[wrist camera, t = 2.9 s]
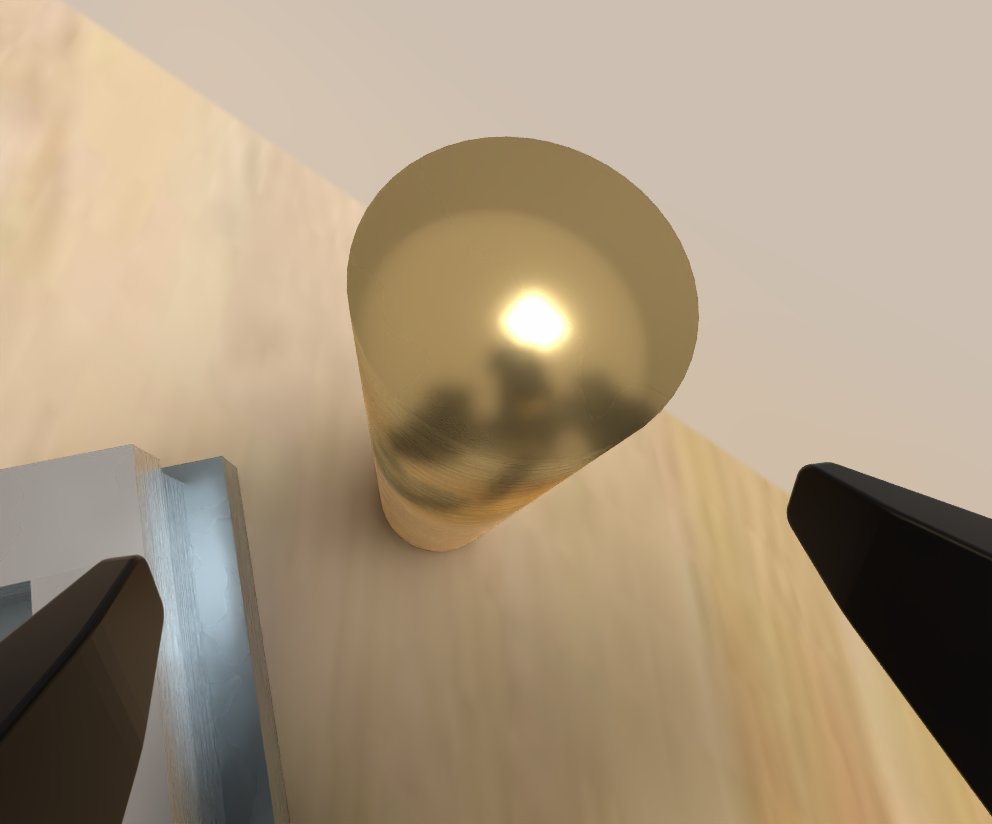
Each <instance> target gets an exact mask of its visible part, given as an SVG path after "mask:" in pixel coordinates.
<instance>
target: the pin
mask: <svg viewBox="0 0 992 824" xmlns="http://www.w3.org/2000/svg"><path fill="white" fill-rule="evenodd" d="M347 294H348V302H349V309H350V316H351V322H352V328H353V334H354V340H355V346H356V352H357V358H358V364H359V370H360V376H361V382H362V389H363V395H364V401H365V407H366V413H367V419H368V425H369V431H370V437H371V443H372V449H373V455H374V461H375V467H376V473H377V480H378V486H379V492H380V498H381V504H382V508H383V511H384V514H385V517H386V519H387V521H388V522H389V524H390V526H391V527H392V528H393V530H394V531H395V532H396V533H397V534H398V535H399V536H400V537H401V538H402V539H404V540H405V541H406V542H408V543H409V544H411V545H413V546H415V547H418V548H421V549H424V550H428V551H437V552H440V551H450V550H455V549H458V548H461V547H463V546H465V545H467V544H469V543H470V542H472V541H473V540H475V539H476V538H478V537H479V536H481V535H482V534H484V533H485V532H487V531H488V530H490V529H491V528H493V527H494V526H496V525H497V524H499V523H500V522H502V521H503V520H505V519H506V518H508V517H509V516H511V515H512V514H514V513H515V512H517V511H518V510H520V509H521V508H523V507H524V506H526V505H527V504H529V503H530V502H532V501H533V500H535V499H536V498H538V497H539V496H541V495H542V494H544V493H545V492H547V491H548V490H550V489H551V488H553V487H554V486H556V485H557V484H559V483H560V482H562V481H563V480H565V479H566V478H568V477H569V476H571V475H572V474H574V473H575V472H577V471H578V470H580V469H581V468H583V467H584V466H586V465H587V464H589V463H590V462H592V461H593V460H595V459H596V458H597V457H599V456H600V455H602V454H603V453H605V452H606V451H608V450H609V449H611V448H612V447H614V446H615V445H617V444H618V443H620V442H621V441H623V440H624V439H626V438H627V437H629V436H630V435H632V434H633V433H635V432H636V431H638V430H639V429H641V428H642V427H644V426H645V425H646V424H647V423H648V422H649V421H651V420H652V419H653V418H654V417H655V416H656V415H657V414H658V413H659V412H660V411H661V410H662V409H663V408H664V406H665V405H666V404H667V403H668V402H669V400H670V399H671V398H672V397H673V396H674V394H675V392H676V391H677V389H678V387H679V386H680V384H681V382H682V381H683V379H684V377H685V374H686V372H687V370H688V367H689V365H690V362H691V360H692V356H693V352H694V348H695V344H696V340H697V332H698V321H699V314H698V297H697V291H696V286H695V280H694V276H693V273H692V270H691V267H690V263H689V260H688V258H687V255H686V253H685V251H684V249H683V247H682V244H681V242H680V240H679V239H678V237H677V235H676V233H675V232H674V230H673V229H672V227H671V225H670V224H669V222H668V221H667V219H666V218H665V217H664V216H663V214H662V213H661V212H660V210H659V209H658V208H657V207H656V205H655V204H654V203H652V201H651V200H650V199H649V198H648V197H647V196H646V195H645V194H644V193H643V192H642V191H641V190H640V189H639V188H637V187H636V186H635V185H634V184H633V183H631V182H630V181H629V180H628V179H627V178H625V177H624V176H622V175H621V174H619V173H618V172H617V171H615V170H613V169H612V168H611V167H609V166H607V165H606V164H604V163H602V162H600V161H598V160H596V159H594V158H592V157H591V156H589V155H586V154H584V153H581V152H579V151H576V150H574V149H571V148H569V147H565V146H562V145H558V144H554V143H551V142H547V141H541V140H536V139H530V138H518V137H488V138H480V139H475V140H468V141H464V142H460V143H456V144H453V145H449V146H446V147H443V148H441V149H439V150H436V151H434V152H431V153H429V154H427V155H425V156H423V157H422V158H420V159H418V160H416V161H415V162H413V163H411V164H410V165H408V166H407V167H406V168H404V169H403V170H402V171H401V172H399V173H398V174H397V175H395V176H394V177H393V178H392V179H391V180H390V181H389V182H388V183H387V184H386V185H385V186H384V187H383V188H382V189H381V190H380V191H379V193H378V194H377V195H376V197H375V198H374V200H373V201H372V202H371V204H370V205H369V207H368V208H367V210H366V212H365V214H364V216H363V217H362V219H361V221H360V223H359V225H358V227H357V230H356V233H355V236H354V239H353V242H352V246H351V249H350V256H349V262H348V268H347Z"/></svg>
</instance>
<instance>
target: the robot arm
mask: <svg viewBox="0 0 992 824" xmlns="http://www.w3.org/2000/svg"><path fill="white" fill-rule="evenodd" d="M787 519H788V522H789V524H790V526H791V528H792V530H793V531H794V533H795V535H796V536H797V538H798V540H799V541H800V543H801V545H802V546H803V548H804V550H805V551H806V553H807V555H808V556H809V558H810V560H811V561H812V563H813V565H814V566H815V568H816V570H817V571H818V573H819V575H820V576H821V578H822V580H823V581H824V583H825V585H826V586H827V588H828V590H829V591H830V593H831V595H832V596H833V598H834V600H835V601H836V603H837V604H838V606H839V607H840V609H841V611H842V612H843V614H844V615H845V616H846V618H847V619H848V621H849V622H850V624H851V625H852V626H853V628H854V629H855V631H856V632H857V633H858V635H859V636H860V637H861V639H862V640H863V642H864V643H865V644H866V646H867V647H868V648H869V650H870V651H871V652H872V654H873V655H874V657H875V658H876V659H877V661H878V662H879V663H880V665H881V666H882V667H883V669H884V670H885V672H886V673H887V674H888V676H889V677H890V678H891V680H892V681H893V682H894V684H895V685H896V687H897V688H898V689H899V691H900V692H901V693H902V695H903V696H904V698H905V699H906V700H907V702H908V703H909V704H910V706H911V707H912V708H913V710H914V711H915V713H916V714H917V715H918V717H919V718H920V719H921V721H922V722H923V723H924V725H925V726H926V728H927V729H928V730H929V732H930V733H931V734H932V736H933V737H934V738H935V740H936V741H937V743H938V744H939V745H940V747H941V748H942V749H943V751H944V752H945V753H946V755H947V756H948V758H949V759H950V760H951V762H952V763H953V764H954V766H955V767H956V768H957V770H958V771H959V773H960V774H961V775H962V777H963V778H964V779H965V781H966V782H967V784H968V785H969V786H970V788H971V789H972V790H973V792H974V793H975V794H976V796H977V797H978V799H979V800H980V801H981V803H982V804H983V805H984V807H985V808H986V809H987V811H988V812H989V814H990V815H991V816H992V519H991V518H987V517H985V516H982V515H979V514H976V513H974V512H971V511H968V510H965V509H962V508H959V507H957V506H954V505H951V504H948V503H945V502H942V501H940V500H937V499H934V498H931V497H928V496H926V495H923V494H920V493H917V492H914V491H911V490H908V489H906V488H903V487H900V486H897V485H894V484H891V483H889V482H886V481H883V480H880V479H877V478H875V477H872V476H869V475H866V474H863V473H860V472H858V471H855V470H852V469H849V468H846V467H844V466H841V465H838V464H835V463H831V462H824V463H817V464H809V465H806V466H804V467H802V468H801V469H800V471H799V472H798V474H797V478H796V481H795V484H794V487H793V490H792V493H791V497H790V500H789V503H788V506H787ZM163 623H164V608H163V603H162V600H161V597H160V594H159V592H158V589H157V586H156V584H155V581H154V578H153V576H152V573H151V570H150V568H149V565H148V563H147V561H146V560H145V558H144V557H142V556H140V555H128V556H121V557H113V558H107V559H104V560H102V561H100V562H99V563H97V564H96V565H95V566H93V567H92V568H91V569H90V570H88V571H87V572H86V573H85V574H83V575H82V576H81V577H80V578H78V579H77V580H76V581H75V582H73V583H72V584H71V585H70V586H68V587H67V588H66V589H65V590H63V591H62V592H61V593H60V594H59V595H57V596H56V597H55V598H54V599H52V600H51V601H50V602H49V603H47V604H46V605H45V606H44V607H42V608H41V609H40V610H39V611H37V612H36V613H35V614H34V615H32V616H31V617H30V618H29V619H27V620H26V621H25V622H24V623H22V624H21V625H20V626H19V627H17V628H16V629H15V630H14V631H12V632H11V633H10V634H9V635H7V636H6V637H5V638H4V639H3V640H1V641H0V824H122V822H123V818H124V815H125V811H126V808H127V804H128V801H129V797H130V793H131V790H132V786H133V783H134V779H135V776H136V772H137V769H138V765H139V761H140V757H141V753H142V749H143V744H144V739H145V734H146V728H147V722H148V716H149V710H150V704H151V698H152V692H153V685H154V679H155V673H156V667H157V661H158V654H159V648H160V642H161V636H162V630H163Z"/></svg>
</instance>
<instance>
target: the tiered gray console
mask: <svg viewBox="0 0 992 824" xmlns="http://www.w3.org/2000/svg"><path fill="white" fill-rule="evenodd" d="M128 555H140V556H142V557H144V558H145V560H146V561H147V563H148V565H149V568H150V570H151V573H152V576H153V578H154V581H155V584H156V586H157V589H158V592H159V594H160V597H161V600H162V603H163V608H164V623H163V630H162V636H161V642H160V648H159V654H158V661H157V667H156V673H155V679H154V685H153V692H152V698H151V704H150V710H149V716H148V722H147V728H146V734H145V739H144V744H143V749H142V753H141V757H140V761H139V765H138V769H137V772H136V776H135V779H134V783H133V786H132V790H131V793H130V797H129V801H128V804H127V808H126V811H125V815H124V818H123V822H122V824H290V820H289V814H288V807H287V800H286V794H285V787H284V780H283V774H282V767H281V760H280V754H279V747H278V740H277V734H276V727H275V721H274V714H273V707H272V701H271V694H270V687H269V681H268V674H267V667H266V661H265V654H264V647H263V641H262V634H261V627H260V621H259V614H258V607H257V601H256V594H255V587H254V581H253V574H252V567H251V561H250V554H249V547H248V541H247V534H246V527H245V521H244V514H243V507H242V501H241V494H240V488H239V481H238V474H237V468H236V467H235V466H234V465H232V464H231V463H230V462H229V461H227V460H226V459H225V458H224V457H222V456H220V457H215V458H210V459H205V460H200V461H196V462H191V463H186V464H181V465H176V466H171V467H166V468H160V459H158V458H156V457H154V456H152V455H151V454H149V453H147V452H145V451H144V450H142V449H140V448H138V447H136V446H135V445H133V444H130V445H125V446H120V447H115V448H110V449H105V450H99V451H94V452H89V453H84V454H79V455H73V456H68V457H63V458H58V459H53V460H48V461H42V462H37V463H32V464H27V465H22V466H16V467H11V468H6V469H1V470H0V641H1V640H3V639H4V638H5V637H6V636H7V635H9V634H10V633H11V632H12V631H14V630H15V629H16V628H17V627H19V626H20V625H21V624H22V623H24V622H25V621H26V620H27V619H29V618H30V617H31V616H32V615H34V614H35V613H36V612H37V611H39V610H40V609H41V608H42V607H44V606H45V605H46V604H47V603H49V602H50V601H51V600H52V599H54V598H55V597H56V596H57V595H59V594H60V593H61V592H62V591H63V590H65V589H66V588H67V587H68V586H70V585H71V584H72V583H73V582H75V581H76V580H77V579H78V578H80V577H81V576H82V575H83V574H85V573H86V572H87V571H88V570H90V569H91V568H92V567H93V566H95V565H96V564H97V563H99V562H100V561H102V560H104V559H107V558H113V557H121V556H128Z"/></svg>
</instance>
